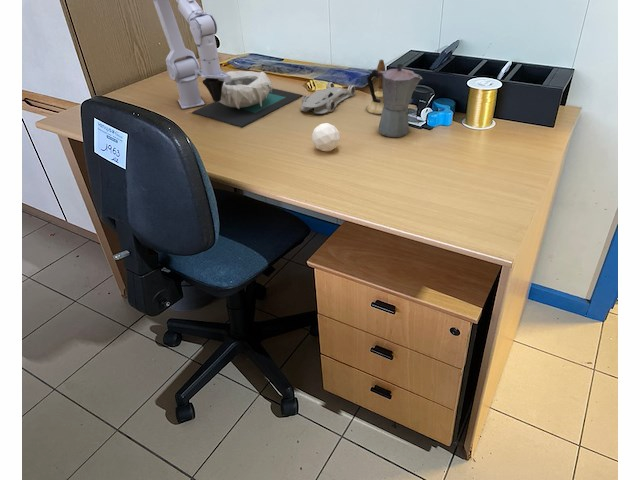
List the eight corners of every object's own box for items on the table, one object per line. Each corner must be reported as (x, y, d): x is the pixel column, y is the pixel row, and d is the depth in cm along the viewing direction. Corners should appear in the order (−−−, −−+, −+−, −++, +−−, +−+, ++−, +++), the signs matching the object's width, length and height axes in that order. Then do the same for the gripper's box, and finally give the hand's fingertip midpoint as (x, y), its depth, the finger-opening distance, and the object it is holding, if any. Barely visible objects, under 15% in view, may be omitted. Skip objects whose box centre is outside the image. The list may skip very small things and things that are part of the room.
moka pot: (417, 139, 139) (422, 70, 127) (364, 137, 142) (364, 69, 130) (418, 125, 146) (423, 58, 134) (368, 124, 149) (368, 58, 137)
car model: (357, 93, 170) (357, 79, 167) (321, 119, 154) (320, 104, 151) (330, 89, 175) (330, 75, 172) (293, 113, 159) (292, 98, 156)
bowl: (203, 115, 162) (197, 85, 156) (229, 93, 177) (224, 65, 171) (260, 118, 156) (256, 88, 150) (282, 95, 172) (279, 67, 166)
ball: (333, 156, 139) (349, 135, 135) (319, 158, 133) (336, 136, 129) (316, 138, 141) (331, 117, 137) (301, 139, 134) (317, 117, 130)
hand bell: (392, 104, 161) (393, 55, 151) (392, 114, 154) (394, 63, 145) (367, 104, 162) (367, 56, 152) (366, 114, 155) (366, 64, 146)
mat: (242, 127, 153) (241, 126, 152) (192, 113, 165) (192, 111, 165) (302, 96, 172) (302, 95, 171) (254, 85, 184) (253, 84, 184)
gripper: (183, 58, 149) (193, 100, 158) (215, 65, 142) (223, 109, 150) (200, 52, 154) (209, 93, 162) (232, 58, 146) (239, 101, 154)
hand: (217, 100), depth 156 cm, fingers closed
